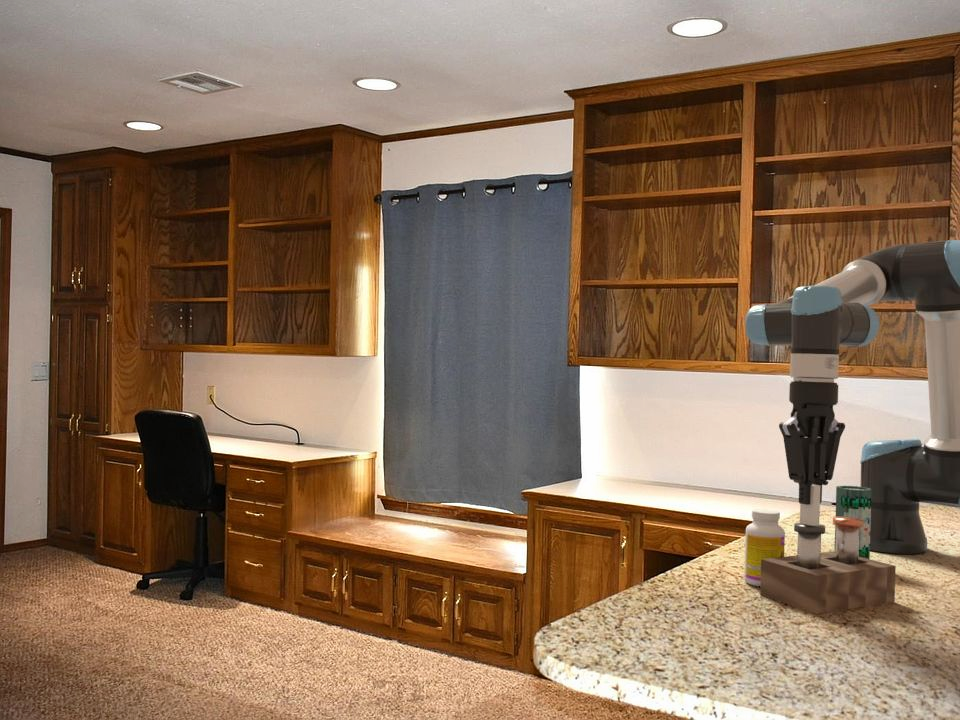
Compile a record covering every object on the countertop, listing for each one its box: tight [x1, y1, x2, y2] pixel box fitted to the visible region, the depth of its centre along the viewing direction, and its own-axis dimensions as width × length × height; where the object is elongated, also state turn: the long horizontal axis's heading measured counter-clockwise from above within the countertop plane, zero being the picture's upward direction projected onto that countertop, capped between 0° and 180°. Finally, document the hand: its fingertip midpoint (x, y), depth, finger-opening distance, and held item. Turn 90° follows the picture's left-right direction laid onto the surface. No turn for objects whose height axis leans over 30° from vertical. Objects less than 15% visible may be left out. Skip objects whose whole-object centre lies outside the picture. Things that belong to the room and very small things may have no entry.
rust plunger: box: [832, 516, 863, 565], centre depth 153 cm, size 5×5×9 cm
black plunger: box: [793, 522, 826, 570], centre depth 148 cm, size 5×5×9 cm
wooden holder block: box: [759, 550, 897, 615], centre depth 150 cm, size 18×12×6 cm, turn 118°
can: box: [834, 485, 872, 560], centre depth 176 cm, size 6×6×15 cm
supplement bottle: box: [743, 508, 786, 588], centre depth 159 cm, size 7×7×13 cm
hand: (809, 523), depth 148 cm, fingers closed
